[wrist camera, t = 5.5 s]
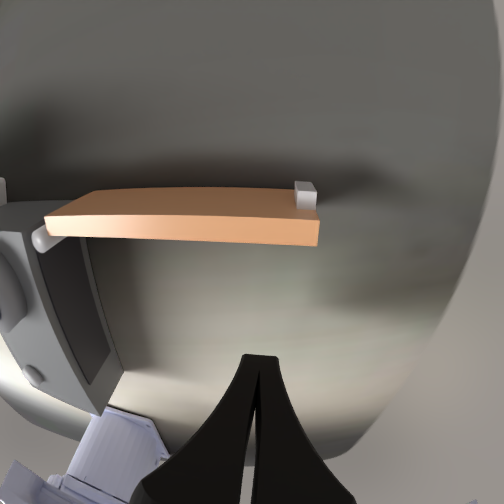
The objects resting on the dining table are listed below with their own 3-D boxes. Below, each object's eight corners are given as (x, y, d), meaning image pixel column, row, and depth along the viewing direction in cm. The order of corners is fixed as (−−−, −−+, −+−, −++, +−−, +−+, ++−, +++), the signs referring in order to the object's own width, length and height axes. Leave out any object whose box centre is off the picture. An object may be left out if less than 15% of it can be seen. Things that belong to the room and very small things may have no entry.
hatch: (84, 219, 13) (35, 252, 9) (78, 180, 12) (24, 204, 8) (304, 224, 12) (314, 270, 8) (307, 176, 11) (322, 202, 7)
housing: (125, 372, 18) (93, 438, 12) (57, 350, 19) (21, 401, 13) (81, 199, 12) (-7, 252, 7) (9, 201, 13) (-59, 241, 7)
